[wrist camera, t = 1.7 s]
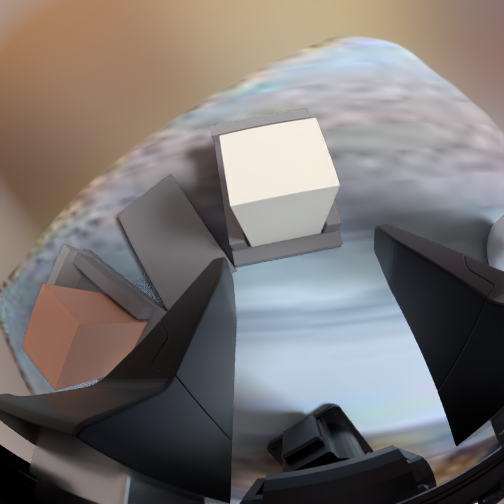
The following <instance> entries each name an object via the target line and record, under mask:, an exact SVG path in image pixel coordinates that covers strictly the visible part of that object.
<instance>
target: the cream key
mask: <svg viewBox="0 0 504 504" xmlns="http://www.w3.org/2000/svg"><path fill="white" fill-rule="evenodd" d="M219 137H220V144H221V151H222V157H223V164H224V170H225V176H226V183H227V189H228V195H229V202H230V207H231V209H232V211H233V212H234V214H235V216H236V218H237V220H238V222H239V224H240V225H241V227H242V229H243V231H244V233H245V235H246V237H247V239H248V240H249V242H250V244H251V246H252V247H254V246H259V245H264V244H269V243H274V242H279V241H284V240H289V239H294V238H299V237H304V236H309V235H314V234H319V233H321V230H322V228H323V226H324V223H325V221H326V218H327V216H328V214H329V211H330V209H331V206H332V204H333V201H334V199H335V196H336V194H337V191H338V189H339V186H340V184H339V181H338V178H337V175H336V172H335V169H334V166H333V163H332V160H331V157H330V155H329V152H328V149H327V146H326V143H325V141H324V138H323V135H322V133H321V130H320V128H319V125H318V122H317V120H316V118H311V119H304V120H297V121H291V122H284V123H279V124H273V125H267V126H262V127H257V128H252V129H247V130H242V131H238V132H233V133H229V134H225V135H221V136H219Z"/></svg>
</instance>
